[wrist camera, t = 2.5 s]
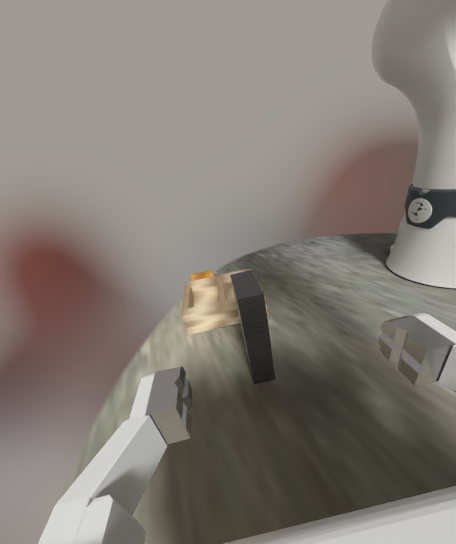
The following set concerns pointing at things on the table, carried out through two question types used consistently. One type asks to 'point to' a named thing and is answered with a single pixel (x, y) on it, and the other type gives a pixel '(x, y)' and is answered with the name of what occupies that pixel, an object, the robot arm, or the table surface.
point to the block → (254, 325)
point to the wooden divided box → (210, 302)
